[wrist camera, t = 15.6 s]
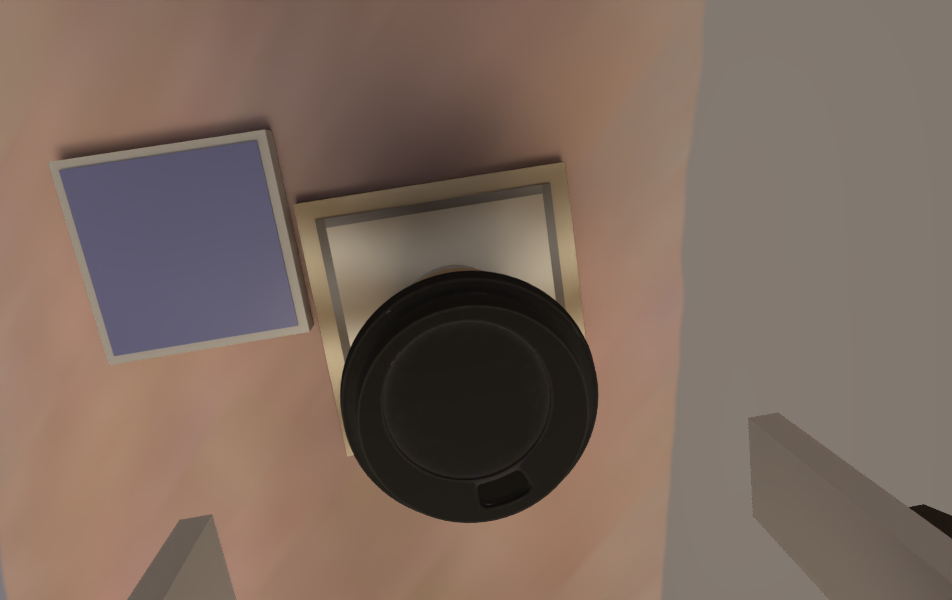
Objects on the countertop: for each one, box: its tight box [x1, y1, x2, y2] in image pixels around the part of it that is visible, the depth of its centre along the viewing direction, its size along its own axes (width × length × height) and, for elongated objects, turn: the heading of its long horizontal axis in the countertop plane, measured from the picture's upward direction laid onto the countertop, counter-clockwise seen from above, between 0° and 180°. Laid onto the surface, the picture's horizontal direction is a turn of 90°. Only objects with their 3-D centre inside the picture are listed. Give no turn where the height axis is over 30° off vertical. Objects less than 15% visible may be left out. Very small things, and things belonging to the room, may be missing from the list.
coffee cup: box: [340, 265, 598, 523], centre depth 28 cm, size 9×9×15 cm
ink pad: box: [48, 130, 314, 365], centre depth 34 cm, size 11×11×2 cm
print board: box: [293, 162, 585, 456], centre depth 36 cm, size 15×15×1 cm
